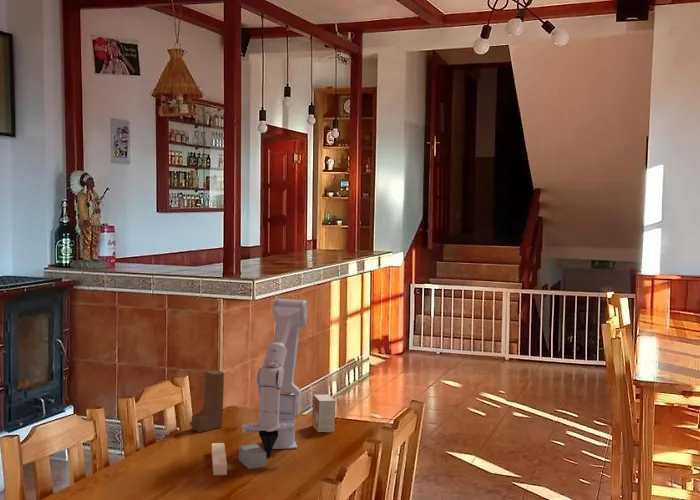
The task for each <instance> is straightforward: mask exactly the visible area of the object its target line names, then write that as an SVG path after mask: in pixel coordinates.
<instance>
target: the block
mask: <svg viewBox="0 0 700 500" xmlns="http://www.w3.org/2000/svg"><path fill="white" fill-rule="evenodd" d="M238 448H239V449H238V453H239V454H238V461H240V463H242V464H243V465H244V466H245V467H246V468H247V469H248V470H250V469H258V468H259V469H260V468H264V467H265V468H267V458H266V452H265V451H264V448H262V447H261V446H260V445H258V444H257V443H251V444H250V443H249V444H242V445H241V444H240V445H239V447H238Z"/></svg>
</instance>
